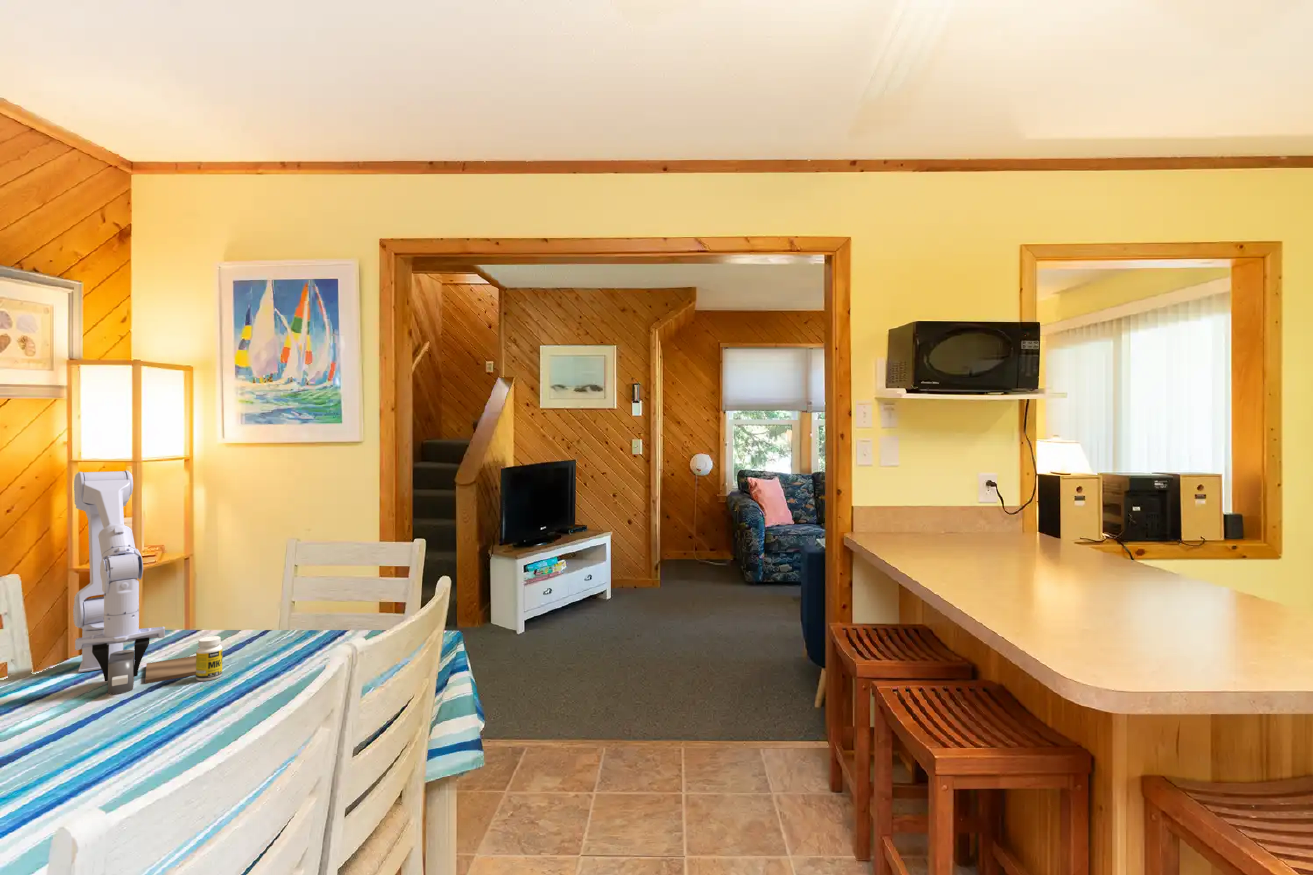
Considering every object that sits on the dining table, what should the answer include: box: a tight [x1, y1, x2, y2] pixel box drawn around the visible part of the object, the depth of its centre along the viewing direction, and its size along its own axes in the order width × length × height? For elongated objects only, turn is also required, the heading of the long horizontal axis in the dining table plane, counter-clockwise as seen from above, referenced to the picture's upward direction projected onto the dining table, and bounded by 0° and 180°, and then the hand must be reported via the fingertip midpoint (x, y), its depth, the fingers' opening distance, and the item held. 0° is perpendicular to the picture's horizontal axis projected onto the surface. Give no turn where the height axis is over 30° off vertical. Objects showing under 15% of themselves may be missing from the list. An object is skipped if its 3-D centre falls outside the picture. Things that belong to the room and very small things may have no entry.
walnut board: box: [144, 655, 196, 684], centre depth 150 cm, size 13×12×1 cm
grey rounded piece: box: [107, 649, 135, 696], centre depth 139 cm, size 13×4×6 cm, turn 36°
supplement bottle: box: [195, 635, 223, 682], centre depth 144 cm, size 5×5×8 cm
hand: (121, 677), depth 140 cm, fingers closed on grey rounded piece, 4 cm apart
